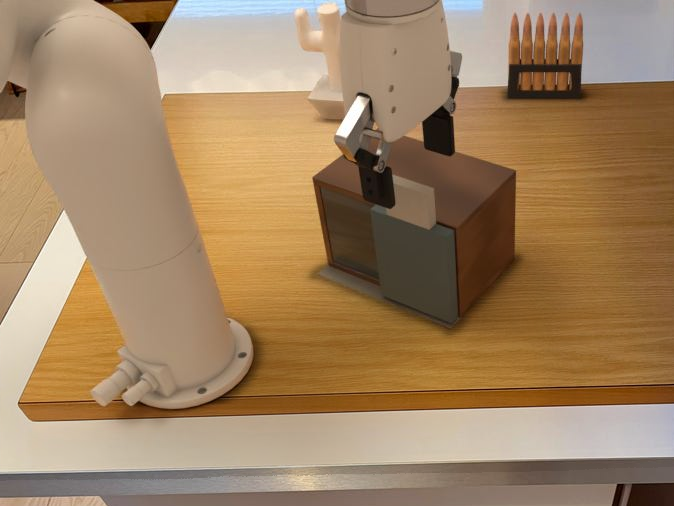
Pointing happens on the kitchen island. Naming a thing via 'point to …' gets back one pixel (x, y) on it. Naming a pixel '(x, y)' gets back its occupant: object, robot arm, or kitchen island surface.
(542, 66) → the ammunition clip
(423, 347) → the kitchen island surface
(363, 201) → the cabinet
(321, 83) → the figurine
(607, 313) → the kitchen island surface
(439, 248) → the grey sliding door
